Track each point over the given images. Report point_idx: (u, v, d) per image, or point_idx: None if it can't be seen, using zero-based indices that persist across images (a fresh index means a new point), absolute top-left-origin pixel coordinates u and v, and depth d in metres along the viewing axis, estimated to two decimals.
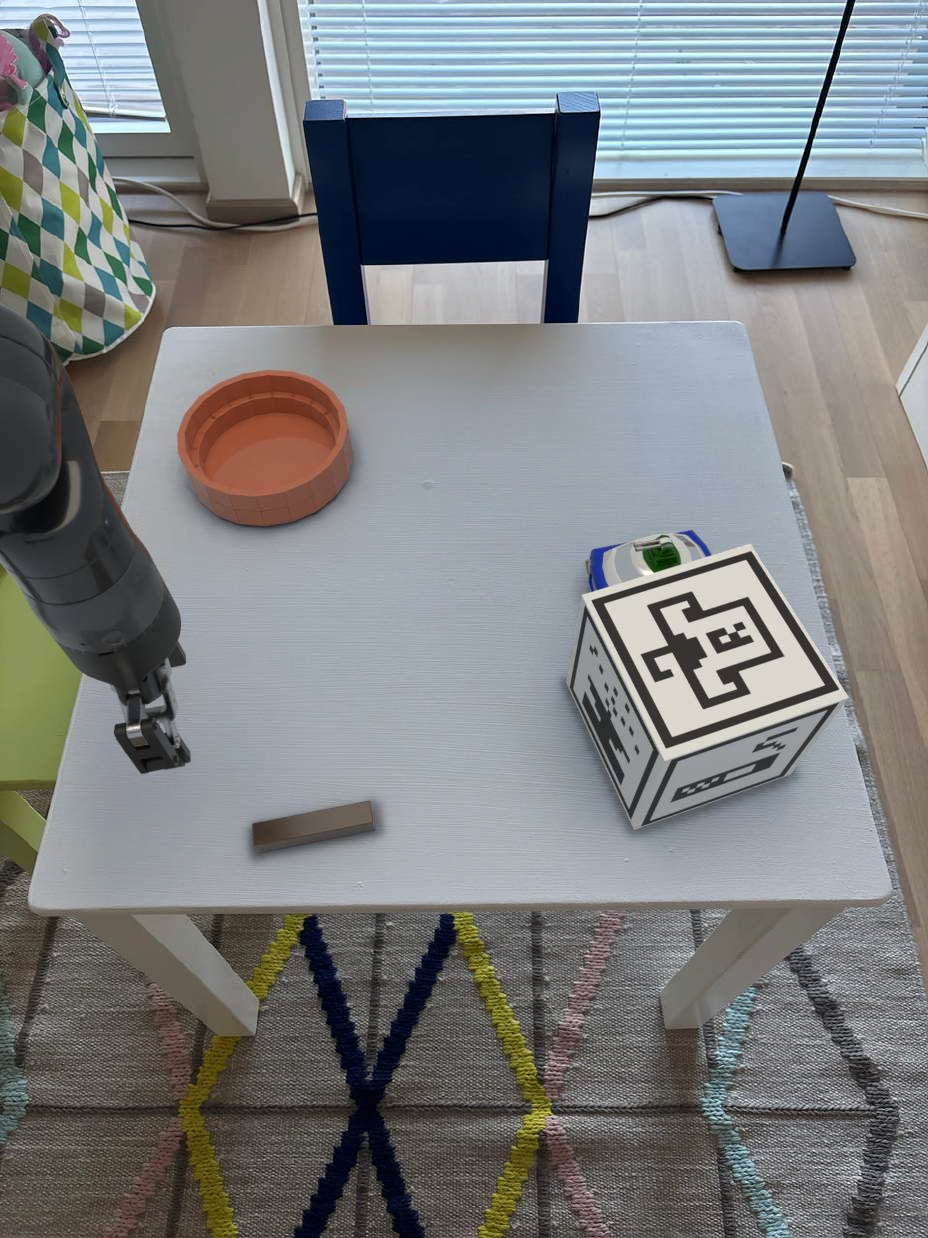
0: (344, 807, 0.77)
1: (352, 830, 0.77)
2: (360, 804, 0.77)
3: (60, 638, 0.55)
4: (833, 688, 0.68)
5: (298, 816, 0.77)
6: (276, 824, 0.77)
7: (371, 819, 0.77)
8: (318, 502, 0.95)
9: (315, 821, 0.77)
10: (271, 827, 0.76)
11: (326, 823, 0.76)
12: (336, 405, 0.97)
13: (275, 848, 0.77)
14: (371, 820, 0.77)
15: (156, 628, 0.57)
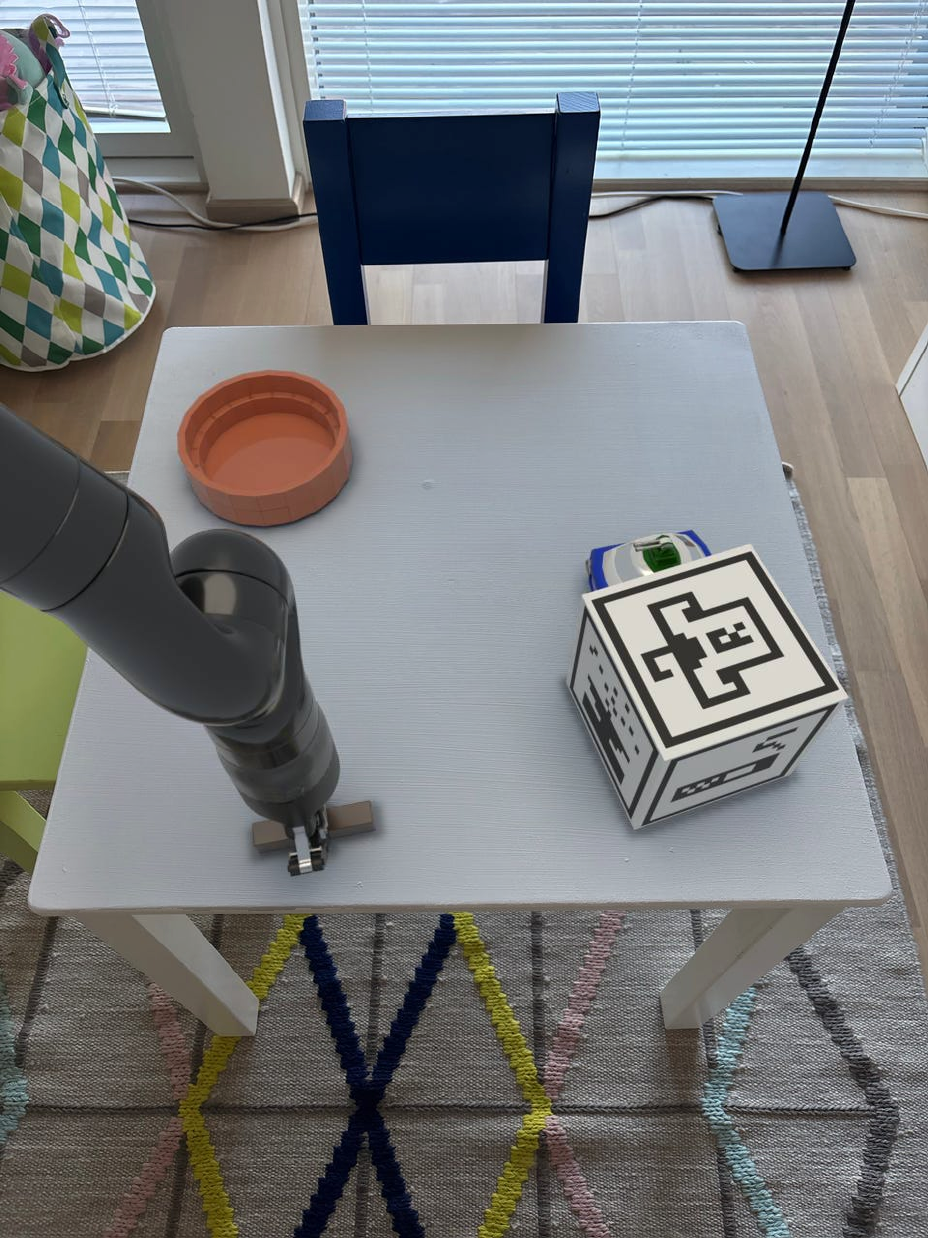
0: (344, 807, 0.77)
1: (352, 830, 0.77)
2: (360, 803, 0.77)
3: (247, 791, 0.61)
4: (833, 688, 0.68)
5: None
6: (276, 824, 0.77)
7: (371, 819, 0.77)
8: (318, 502, 0.95)
9: None
10: (271, 827, 0.76)
11: None
12: (336, 405, 0.97)
13: (275, 848, 0.77)
14: (371, 820, 0.77)
15: (327, 777, 0.64)
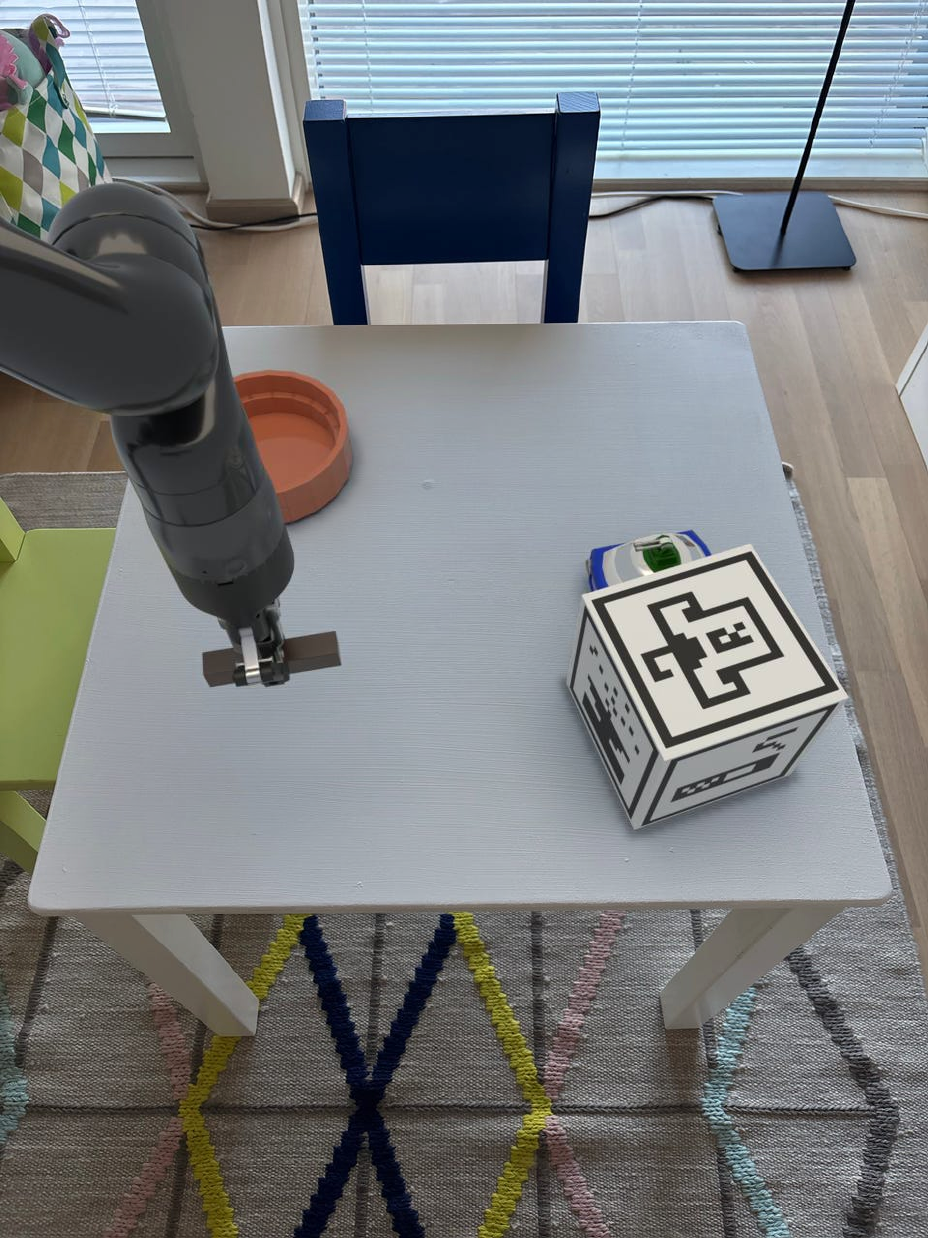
0: (306, 637, 0.69)
1: (315, 663, 0.69)
2: (324, 634, 0.69)
3: (180, 565, 0.53)
4: (833, 688, 0.68)
5: None
6: (229, 653, 0.68)
7: (336, 649, 0.68)
8: (318, 502, 0.95)
9: None
10: (223, 656, 0.68)
11: (285, 653, 0.68)
12: (336, 405, 0.97)
13: (228, 682, 0.69)
14: (336, 650, 0.68)
15: (275, 559, 0.55)
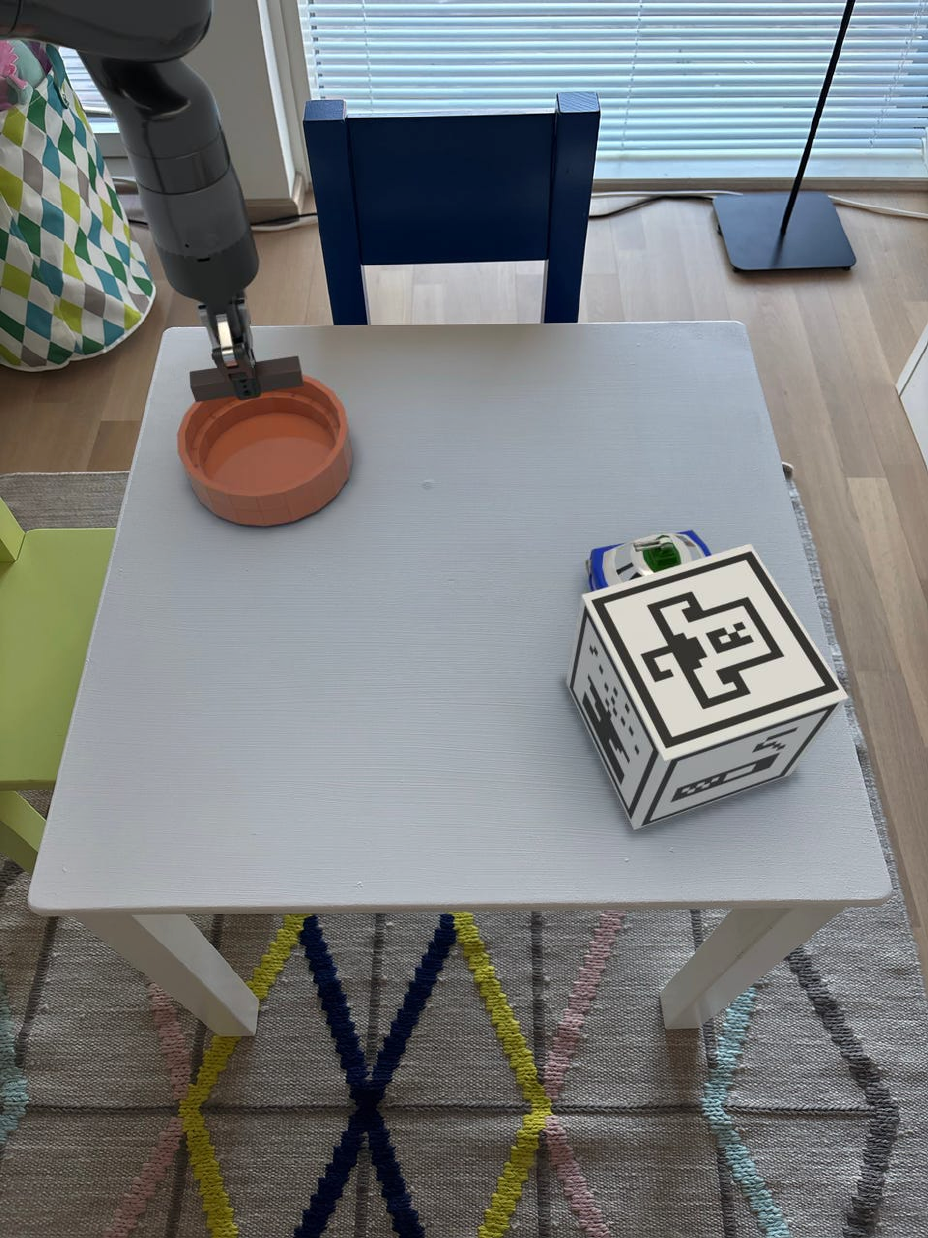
0: (274, 359, 0.84)
1: (281, 380, 0.84)
2: (289, 357, 0.84)
3: (168, 241, 0.68)
4: (833, 688, 0.68)
5: None
6: (211, 371, 0.83)
7: (298, 367, 0.83)
8: (318, 502, 0.95)
9: None
10: (206, 373, 0.83)
11: (257, 371, 0.83)
12: (336, 405, 0.97)
13: (211, 396, 0.84)
14: (298, 368, 0.83)
15: (243, 246, 0.70)
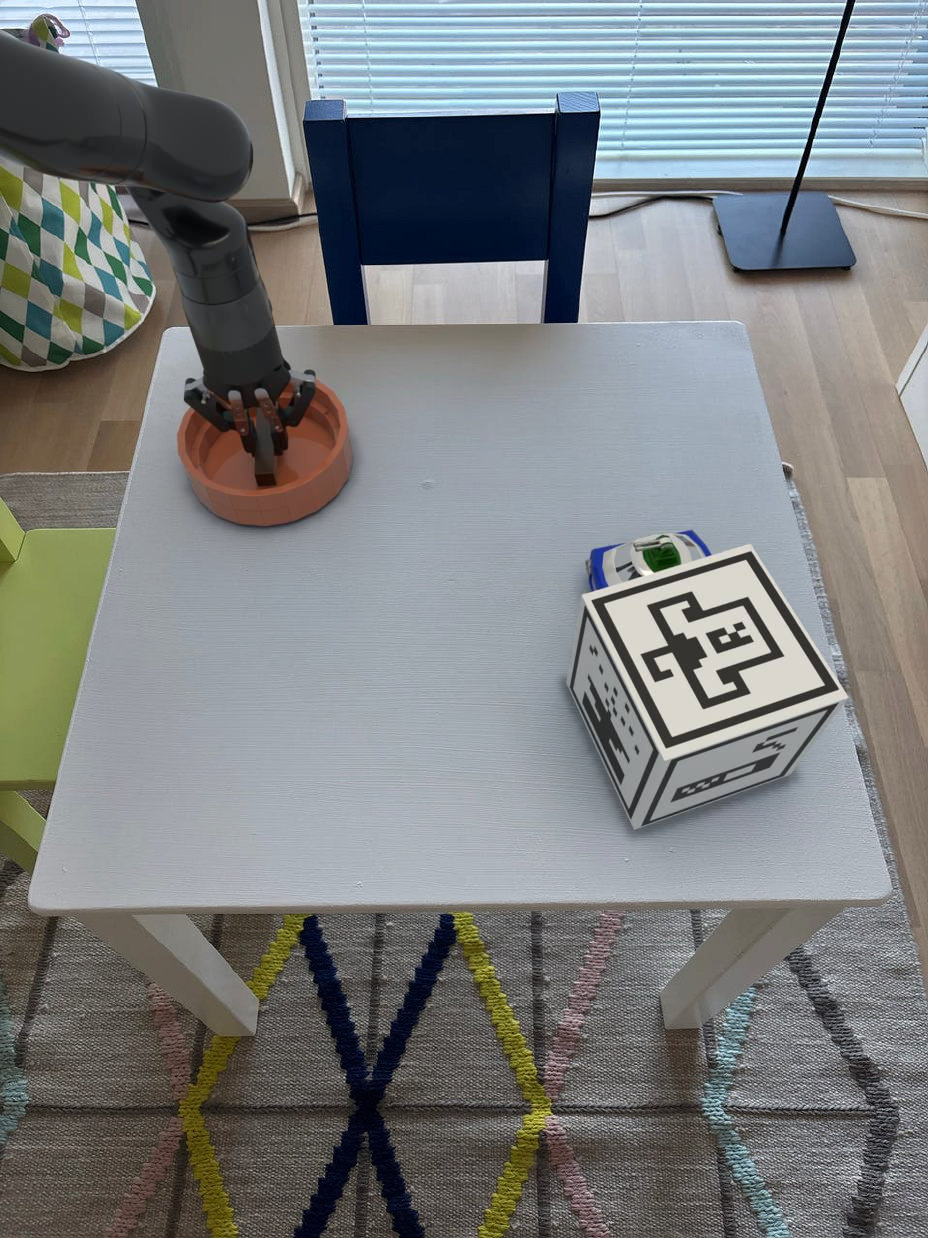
0: (258, 419, 0.98)
1: None
2: (258, 410, 0.98)
3: (262, 327, 0.81)
4: (833, 688, 0.68)
5: (256, 446, 0.96)
6: (259, 459, 0.95)
7: None
8: (318, 502, 0.95)
9: (264, 436, 0.96)
10: (261, 462, 0.94)
11: (268, 429, 0.97)
12: (336, 405, 0.97)
13: (276, 472, 0.96)
14: None
15: None
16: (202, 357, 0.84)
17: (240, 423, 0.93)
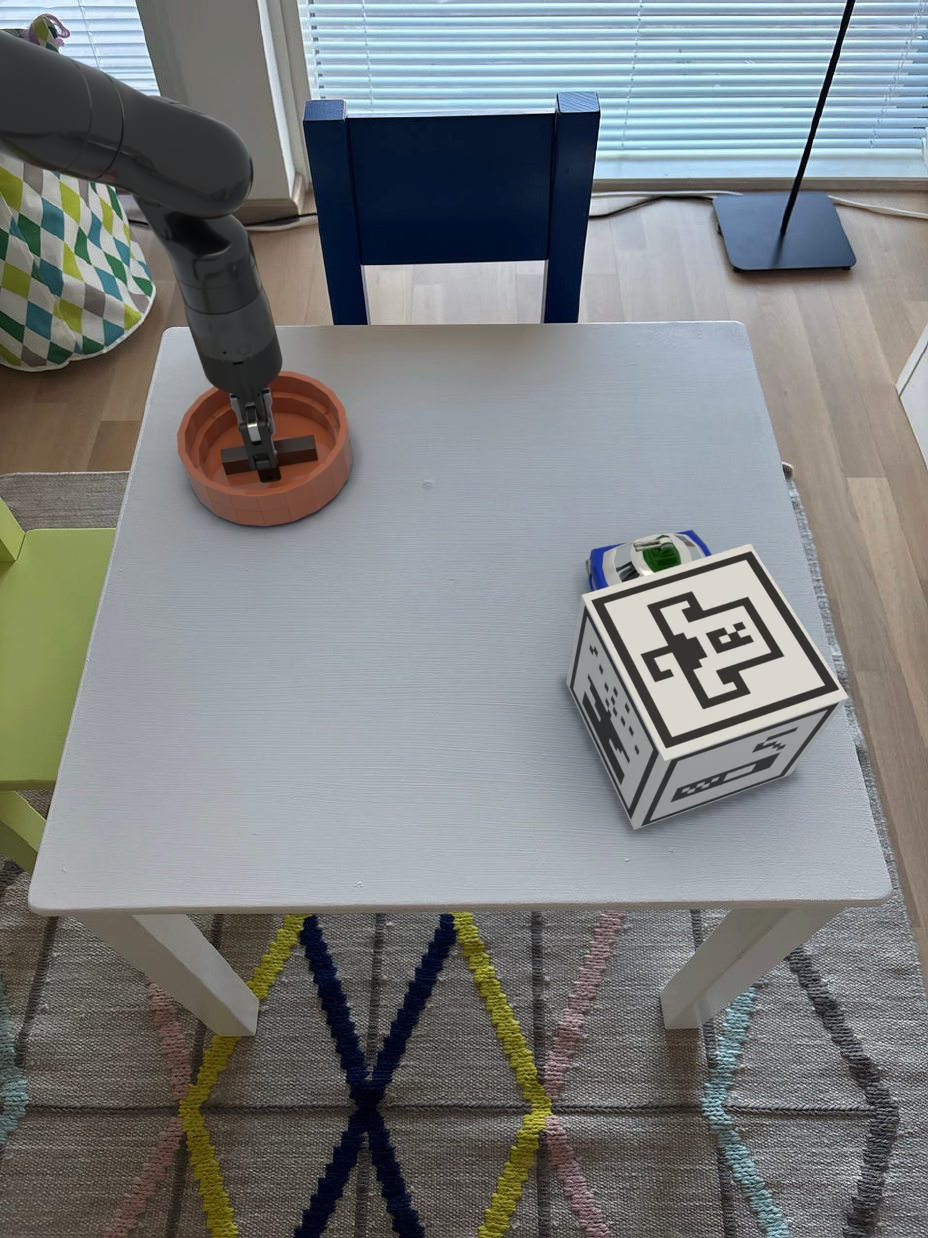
0: (293, 438, 0.98)
1: (299, 456, 0.98)
2: (305, 436, 0.99)
3: (209, 348, 0.82)
4: (833, 688, 0.68)
5: None
6: (239, 449, 0.98)
7: (314, 445, 0.98)
8: (318, 502, 0.95)
9: None
10: (235, 451, 0.98)
11: (278, 448, 0.98)
12: (336, 405, 0.97)
13: (239, 470, 0.98)
14: (314, 446, 0.98)
15: (270, 350, 0.84)
16: None
17: None
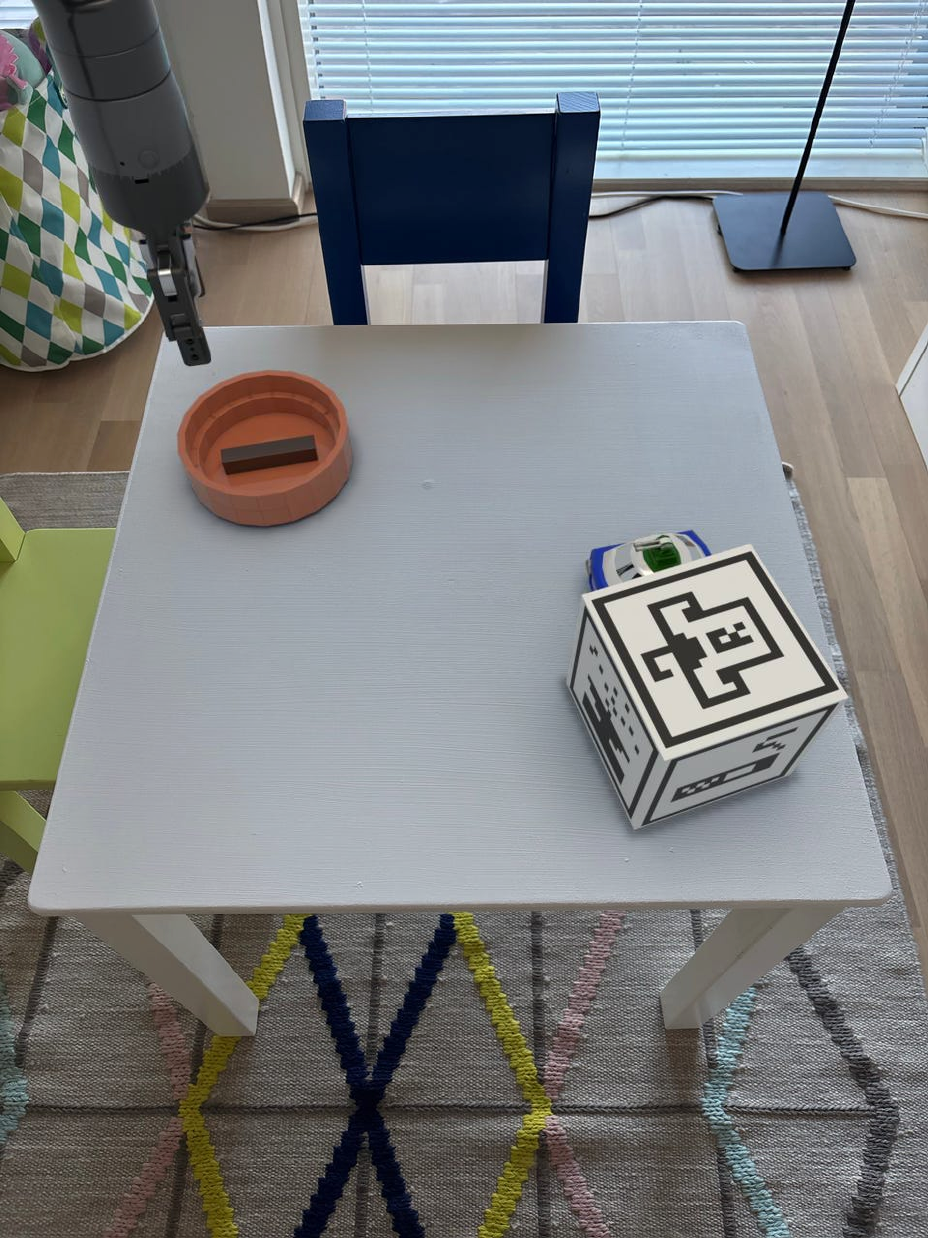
0: (293, 438, 0.98)
1: (299, 456, 0.98)
2: (305, 436, 0.99)
3: (101, 158, 0.61)
4: (833, 688, 0.68)
5: (257, 444, 0.98)
6: (239, 449, 0.98)
7: (314, 445, 0.98)
8: (318, 502, 0.95)
9: (270, 447, 0.98)
10: (235, 451, 0.98)
11: (278, 448, 0.98)
12: (336, 405, 0.97)
13: (239, 470, 0.98)
14: (314, 446, 0.98)
15: (186, 169, 0.63)
16: None
17: None
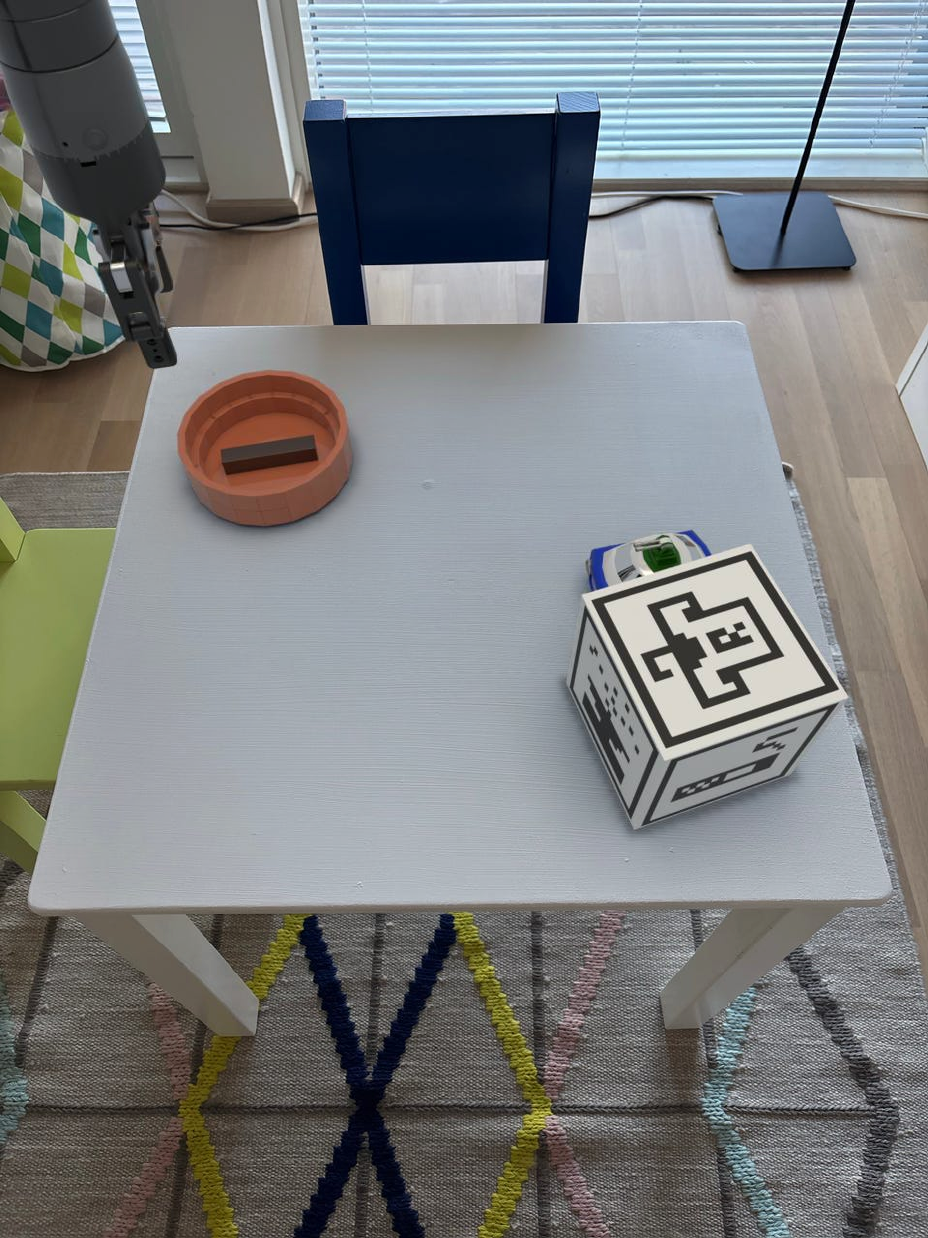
0: (293, 438, 0.98)
1: (299, 456, 0.98)
2: (305, 436, 0.99)
3: (42, 138, 0.54)
4: (833, 688, 0.68)
5: (257, 444, 0.98)
6: (239, 449, 0.98)
7: (314, 445, 0.98)
8: (318, 502, 0.95)
9: (270, 447, 0.98)
10: (235, 451, 0.98)
11: (278, 448, 0.98)
12: (336, 405, 0.97)
13: (239, 470, 0.98)
14: (314, 446, 0.98)
15: (139, 150, 0.57)
16: None
17: None
